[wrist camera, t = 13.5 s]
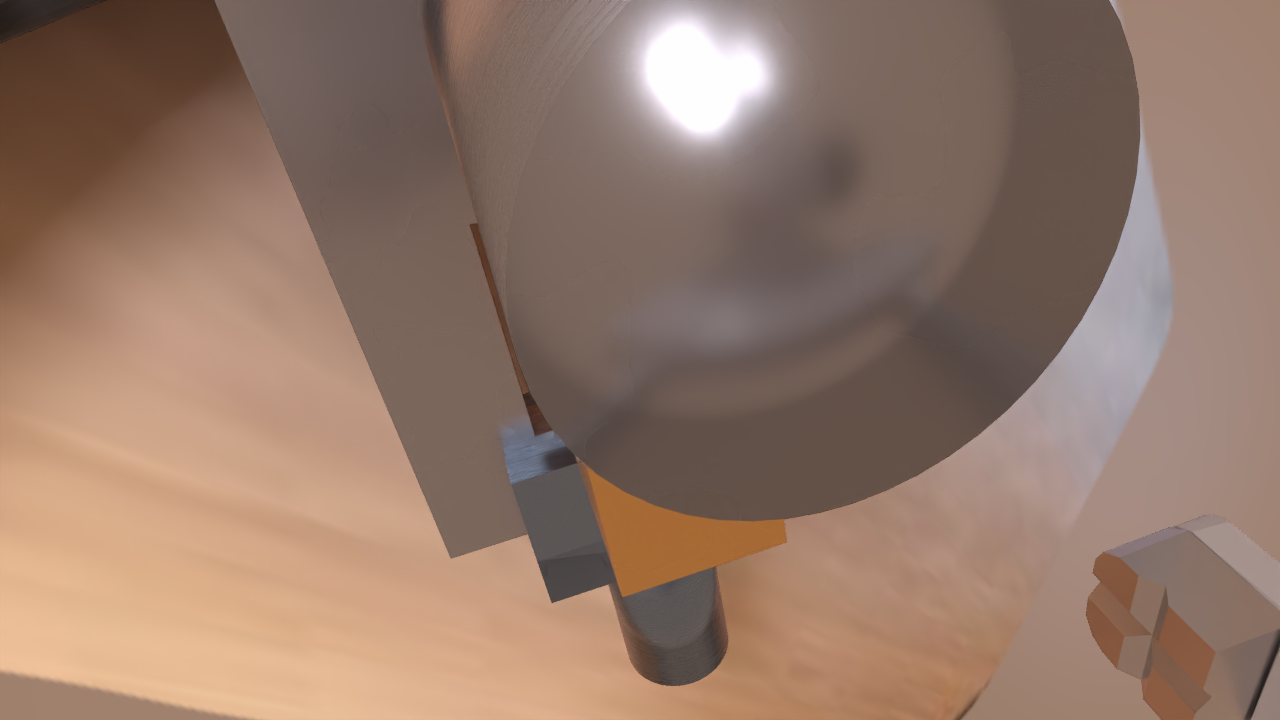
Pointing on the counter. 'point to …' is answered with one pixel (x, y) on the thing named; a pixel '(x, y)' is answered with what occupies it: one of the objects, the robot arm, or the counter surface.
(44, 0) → the zipper pull
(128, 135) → the counter surface
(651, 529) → the orange wooden block
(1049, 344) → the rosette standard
